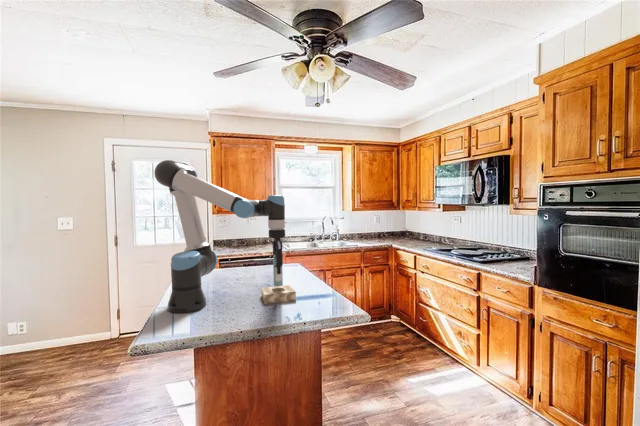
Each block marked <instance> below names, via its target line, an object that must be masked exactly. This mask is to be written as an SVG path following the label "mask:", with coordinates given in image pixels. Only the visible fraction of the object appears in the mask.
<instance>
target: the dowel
mask: <svg viewBox="0 0 640 426" xmlns="http://www.w3.org/2000/svg"><path fill="white" fill-rule="evenodd" d="M272 264H273V265H272V266H273V270H272V271H273V287H276V286H284V285H283V280H282V281H276V272H275V267H274V266H276V257H275V255H273V254H272Z"/></svg>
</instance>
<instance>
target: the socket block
mask: <svg viewBox="0 0 640 426" xmlns="http://www.w3.org/2000/svg"><path fill="white" fill-rule="evenodd" d="M260 289H261V298H262V301H263V303H264V305H266V304H275V303H286V302H287V303H288V302H295V301H297V291H296V290H295V289H294V288H293V286H292V285H291V284H288V285H282V286H265V287H261V288H260Z"/></svg>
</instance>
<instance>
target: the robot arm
mask: <svg viewBox="0 0 640 426" xmlns="http://www.w3.org/2000/svg"><path fill="white" fill-rule="evenodd" d="M154 178H155V179H156V181H157V183H159V184H160V185H161V186H164V187H167V188H168V190H169V193H170V194H171V195H172V196H173V197H174V199H175V203H176V207H177V210H178V216H179V220H180V224H181V229H182V232H183V236H184V240H185V243H186V244H185V245H186V247H185V249H184V250H183V251H180V252H177V253H175V254H173V255H172V256H171V259H170V261H171V262H170V270H171V271H170V273H171V276H170V277H171V294H170V296H169V300H168V304H167V311H168V312H170V313H173V314H186V313H193V312H197V311H200V310H202V309H204V308H205V307H206V306H207V299H206V296H205V294H204V292H203V288H202V277H204V276H207V275H209V274H210V273H211V272H213V271H214V270H215V269H216V267H217V265H218V256H217V254H216V252H215V251H214V250H212V247H211V244H210V243H209V242H207V241H206V237H205V232H204V229H203V224H202V220H201V216H200V212H199V207H198V204H197V200H196V197H197V198H198V199H201V200H203V201H206V202H208V203H210V204H213V205H215V206H217V207H219V208H222V209H224V210H227V211H229V212H230V213H233V214H235V216H237V218H240V219H248V218H253V217H268V218H267V219H268V220H267V226H268V238H270V239H273V241H271V243H272V256H273V255H275V257H276V266H274V267H275V272H276V281H282V282H283V241H282V240H281V238H282V239H283V238H285V237H286V229H285V228H286V224H287V221H286V218H285V217H286V214H285V213H286V212H285V211H286V210H285V209H286V204H285V197H284V196H283V195H282V194H281V195H280V194H277V195H275V194H273V195H271V194H270V195H268V196H267V198H266V199H247V198H245V197H242V196H240V195H238V194H236V193H234V192H231V191H229V190H226V189H225V188H222V187H220V186H218V185H215V184H213V183H210V182H208V181H206V180H204V179H201V178H199V177H198V173H197V171H196V170H195V168H194V167H193V166H191V165H189V164H187V163H184V162H179V161H175V160H172V159H169V160H168V159H166V160H163V161H160V162H159V163H158V164H157V165H156V166H155V168H154Z"/></svg>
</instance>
